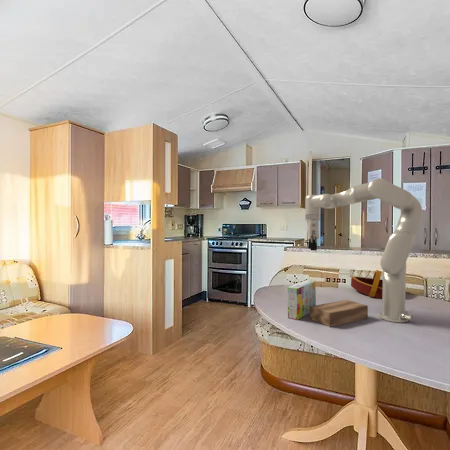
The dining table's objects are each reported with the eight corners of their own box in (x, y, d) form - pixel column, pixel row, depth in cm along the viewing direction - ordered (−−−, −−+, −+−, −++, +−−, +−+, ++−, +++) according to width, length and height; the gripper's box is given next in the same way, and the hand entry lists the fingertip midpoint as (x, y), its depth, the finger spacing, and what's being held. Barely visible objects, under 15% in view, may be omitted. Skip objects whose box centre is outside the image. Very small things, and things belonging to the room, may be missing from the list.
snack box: (306, 308, 164) (306, 279, 164) (316, 310, 160) (316, 281, 160) (286, 318, 147) (287, 286, 147) (297, 320, 144) (297, 288, 144)
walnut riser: (367, 318, 147) (367, 305, 147) (329, 326, 135) (329, 313, 135) (346, 311, 157) (347, 299, 157) (310, 319, 146) (310, 306, 145)
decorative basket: (398, 305, 177) (403, 280, 176) (345, 292, 191) (349, 268, 190) (399, 294, 206) (403, 272, 205) (353, 283, 221) (357, 262, 219)
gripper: (322, 217, 158) (322, 251, 159) (317, 218, 176) (317, 248, 176) (307, 217, 160) (307, 250, 160) (303, 218, 177) (303, 247, 177)
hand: (312, 249), depth 168 cm, fingers open, 9 cm apart
